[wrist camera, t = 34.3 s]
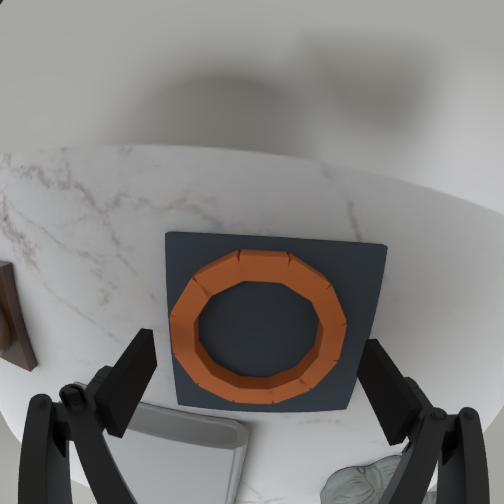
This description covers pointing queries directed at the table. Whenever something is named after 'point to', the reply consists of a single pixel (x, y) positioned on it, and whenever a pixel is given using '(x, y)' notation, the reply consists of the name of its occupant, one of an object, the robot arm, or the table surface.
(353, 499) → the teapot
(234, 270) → the ring
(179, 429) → the book
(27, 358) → the ring stand
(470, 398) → the table surface
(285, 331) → the mat
